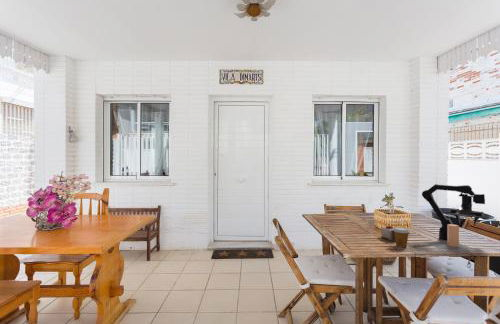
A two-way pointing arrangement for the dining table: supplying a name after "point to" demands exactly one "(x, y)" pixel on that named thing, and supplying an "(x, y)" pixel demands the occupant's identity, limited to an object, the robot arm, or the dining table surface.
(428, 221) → the dining table surface
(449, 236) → the tan tall block
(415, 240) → the dining table surface
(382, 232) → the food item
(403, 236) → the disposable coffee cup
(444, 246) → the mat
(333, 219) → the dining table surface
